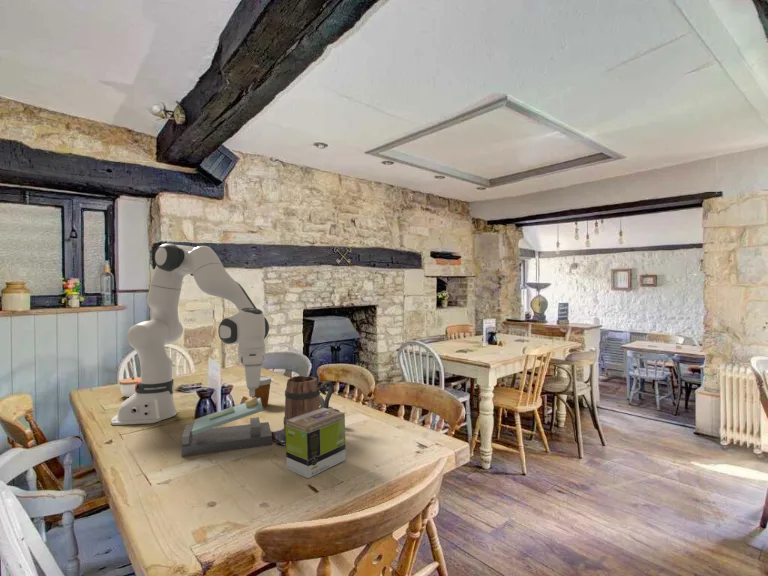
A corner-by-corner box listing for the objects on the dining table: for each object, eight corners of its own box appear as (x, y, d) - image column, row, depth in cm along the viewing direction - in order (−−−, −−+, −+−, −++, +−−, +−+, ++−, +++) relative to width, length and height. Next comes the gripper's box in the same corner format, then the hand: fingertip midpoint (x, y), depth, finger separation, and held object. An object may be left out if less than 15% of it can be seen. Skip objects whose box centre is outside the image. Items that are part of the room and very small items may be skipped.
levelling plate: (192, 435, 126) (189, 425, 126) (196, 422, 137) (193, 413, 137) (263, 410, 133) (260, 401, 133) (261, 400, 145) (258, 392, 144)
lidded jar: (121, 394, 194) (121, 375, 194) (147, 391, 198) (147, 373, 198) (117, 400, 184) (117, 379, 184) (144, 397, 189) (144, 377, 189)
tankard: (289, 448, 130) (289, 387, 130) (270, 433, 144) (270, 377, 144) (351, 433, 144) (351, 377, 144) (328, 420, 158) (328, 369, 158)
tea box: (323, 452, 128) (323, 406, 128) (346, 461, 121) (346, 412, 121) (284, 469, 116) (284, 418, 116) (307, 480, 110) (307, 426, 110)
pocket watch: (334, 409, 172) (334, 385, 172) (330, 415, 163) (330, 390, 163) (316, 408, 172) (316, 385, 172) (310, 414, 164) (310, 390, 164)
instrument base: (181, 456, 124) (181, 438, 124) (186, 440, 137) (186, 423, 137) (271, 444, 134) (271, 427, 134) (268, 430, 147) (268, 414, 147)
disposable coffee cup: (267, 409, 171) (267, 381, 171) (245, 408, 172) (245, 380, 172) (274, 402, 181) (274, 375, 181) (253, 402, 181) (253, 375, 181)
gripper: (241, 351, 146) (241, 389, 147) (242, 361, 127) (242, 404, 127) (259, 350, 149) (259, 387, 149) (263, 360, 129) (263, 402, 130)
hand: (251, 395), depth 138 cm, fingers closed
